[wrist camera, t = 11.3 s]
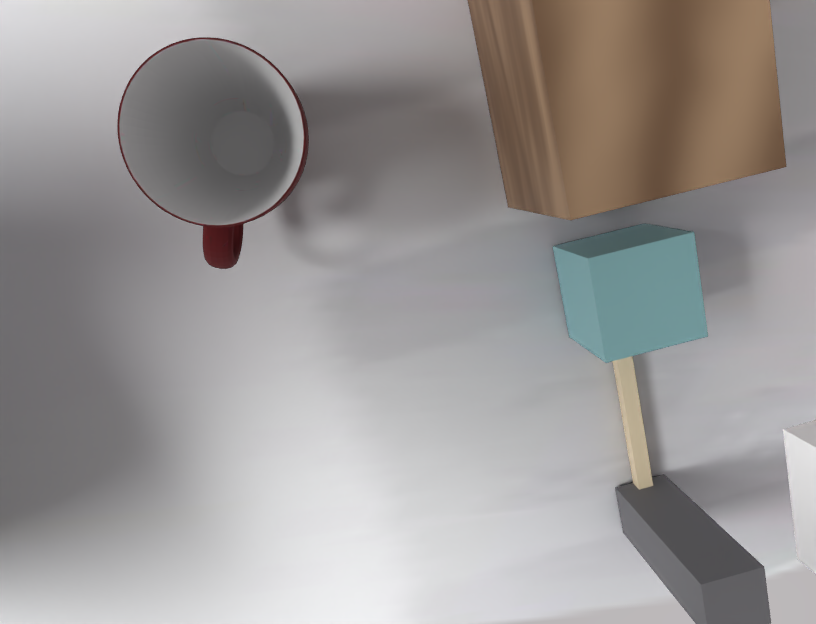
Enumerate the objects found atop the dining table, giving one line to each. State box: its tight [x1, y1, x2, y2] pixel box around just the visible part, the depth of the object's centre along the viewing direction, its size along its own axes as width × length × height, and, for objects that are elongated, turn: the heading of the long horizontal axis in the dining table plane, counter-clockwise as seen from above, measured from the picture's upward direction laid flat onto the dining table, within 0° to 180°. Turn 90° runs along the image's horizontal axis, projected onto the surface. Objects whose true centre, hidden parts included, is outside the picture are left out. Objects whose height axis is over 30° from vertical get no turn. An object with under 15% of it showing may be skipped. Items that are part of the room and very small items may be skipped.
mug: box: [118, 38, 309, 269], centre depth 34 cm, size 10×8×10 cm
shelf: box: [468, 0, 786, 220], centre depth 35 cm, size 10×13×11 cm
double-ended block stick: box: [553, 224, 771, 624], centre depth 39 cm, size 6×21×11 cm, turn 13°
